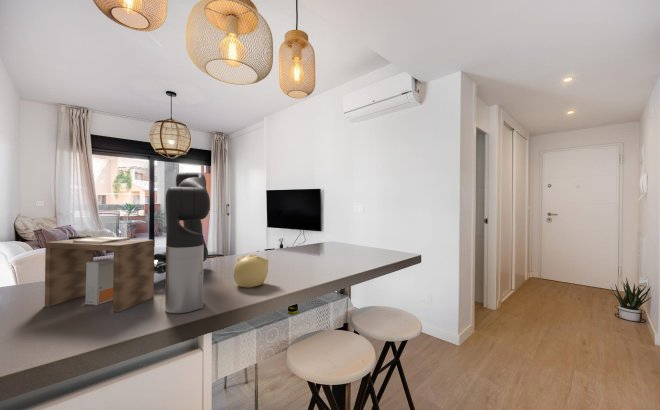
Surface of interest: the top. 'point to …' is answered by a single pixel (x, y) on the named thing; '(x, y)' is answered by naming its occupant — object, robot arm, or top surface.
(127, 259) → the shelf nook
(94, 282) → the skincare box
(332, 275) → the top surface
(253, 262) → the yellow rounded lump
